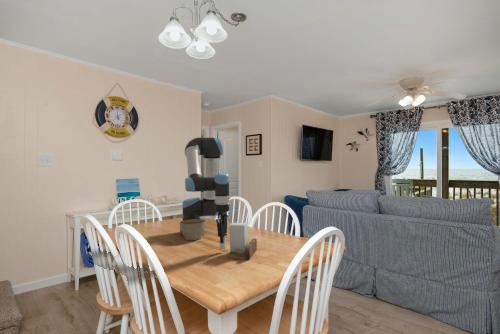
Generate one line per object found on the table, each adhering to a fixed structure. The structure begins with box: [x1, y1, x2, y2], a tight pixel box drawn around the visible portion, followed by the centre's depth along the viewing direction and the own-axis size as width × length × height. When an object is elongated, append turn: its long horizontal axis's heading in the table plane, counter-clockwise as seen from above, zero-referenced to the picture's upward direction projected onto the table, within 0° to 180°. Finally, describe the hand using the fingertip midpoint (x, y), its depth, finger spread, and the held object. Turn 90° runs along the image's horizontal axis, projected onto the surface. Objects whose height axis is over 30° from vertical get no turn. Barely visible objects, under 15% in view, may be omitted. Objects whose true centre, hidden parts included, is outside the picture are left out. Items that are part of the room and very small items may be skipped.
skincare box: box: [228, 222, 249, 252], centre depth 142 cm, size 8×7×16 cm
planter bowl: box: [179, 218, 207, 241], centre depth 173 cm, size 16×16×11 cm
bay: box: [228, 238, 258, 261], centre depth 142 cm, size 16×10×6 cm, turn 166°
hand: (222, 248), depth 145 cm, fingers closed
